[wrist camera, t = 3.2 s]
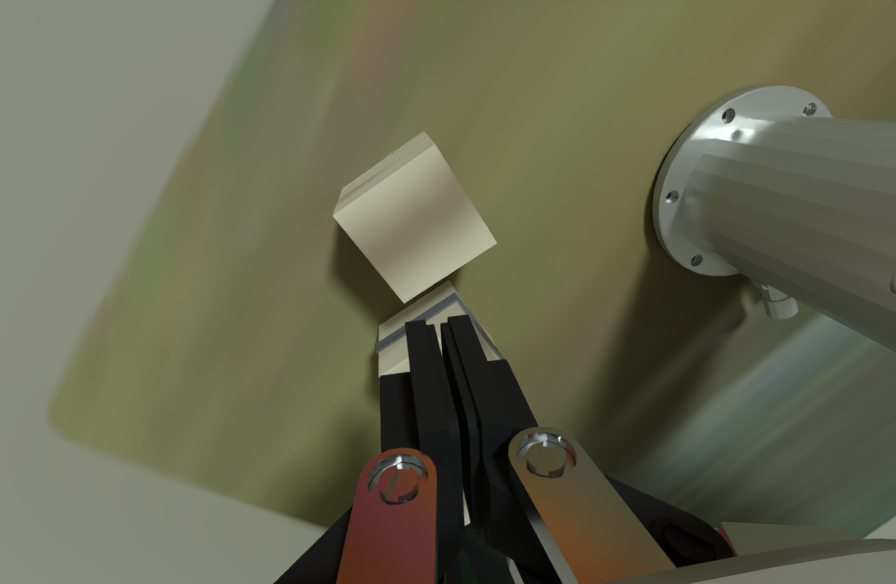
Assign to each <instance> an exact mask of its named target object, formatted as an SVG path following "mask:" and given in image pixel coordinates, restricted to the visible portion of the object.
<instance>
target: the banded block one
mask: <svg viewBox="0 0 896 584" xmlns="http://www.w3.org/2000/svg"><path fill="white" fill-rule="evenodd" d="M466 314H468V315H469V316H470V319H471V321H472V324H473V326H474V329H475V331H476V334H477V336H478V339H479V341H480V343H481V346H482V348H483V351H484V353H485V356H486V358H487V361H492V360H500V359H504V358H503V356H502V355H501V354H500V352H499V351H498V350H497V348H496V346H495V344H494V342H493V340H492V338H491V336H490V335H489V334H488V332H487V331H486V329H485V328H484V327H483V325H482V324H481V323H480V321H479V320H478V319H477V317H476V316H475V314H474V313H473V312H472V310H471V309H470V308H469V306H468V305H467V304H466V302H465V301H464V300H463V298H462V297H461V295H460V294H459V293H458V291H457V290H456V289H455V287H454V286H453V285H452V283H451V282H450V280H448V281H446V282H445V283H443V284H442V285H440V286H439V287H437V288H435V289H434V290H432V291H431V292H429V293H428V294H426V295H425V296H423V297H422V298H420V299H419V300H417V301H416V302H414V303H413V304H411V305H410V306H408V307H407V308H405V309H403V310H402V311H400V312H399V313H397V314H396V315H394V316H393V317H391V318H390V319H388V320H387V321H385V322H384V323H382V324H381V325H379V342H377V343H376V348H375V352H376V353H377V354H378V355H379V377H380V375H388V374H395V373H403V372H410V367H409V358H408V349H407V339H406V330H405V322H408V321H416V320H426V325H429V324H434V325H435V329H436V333H437V337H438V341H439V345H440V350H441V354H442V346H441V332H440V323H445V322H447V318H448V317H450V316H458V315H466Z"/></svg>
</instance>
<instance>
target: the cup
mask: <svg viewBox="0 0 896 584" xmlns="http://www.w3.org/2000/svg"><path fill="white" fill-rule="evenodd" d="M459 539H460V553H459V555H458V556H457V557H456V559H455V560H454V562H453V563H452V564H451V566H450V567H449V569H448V570H447V572H446V573H445V575H446V584H515V581H514V579H513V577H512V574H511V572H510V570H509V566H508V563H507V556H505V555H504V554H502V553H501V552H499V551H498V550H496V549H494V548H493V547H491V544H490V545H484V540H483V536H482V532H481V529H480V530H474V531H473V530H472V528H471V524H470V523H469V524H467V525H465V532H463V533H459Z"/></svg>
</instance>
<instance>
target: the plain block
mask: <svg viewBox="0 0 896 584" xmlns="http://www.w3.org/2000/svg"><path fill="white" fill-rule="evenodd" d="M333 217H334V218H335V219H336V221H337V222H338V223H339V224H340V225H341V227H342V228H343V229H344V230H345V232H346V233H347V234H348V235H349V237H350V238H351V239H352V240H353V241H354V243H355V244H356V245H357V246H358V248H359V249H360V250H361V251H362V252H363V254H364V255H365V256H366V257H367V259H368V260H369V261H370V262H371V264H372V265H373V266H374V267H375V268H376V270H377V271H378V272H379V273H380V275H381V276H382V277H383V278H384V280H385V281H386V282H387V283H388V284H389V286H390V287H391V288H392V289H393V291H394V292H395V293H396V294H397V295H398V297H399V298H400V299H401V300H402V302H403V303H406V302H407V301H409V300H410V299H412V298H413V297H415V296H416V295H418V294H419V293H421V292H423V291H424V290H426V289H427V288H429V287H430V286H432V285H433V284H435V283H436V282H438V281H439V280H441V279H443V278H444V277H446V276H447V275H449V274H450V273H452V272H453V271H455V270H456V269H458V268H459V267H461V266H463V265H464V264H466V263H467V262H469V261H470V260H472V259H473V258H475V257H476V256H478V255H480V254H481V253H483V252H484V251H486V250H487V249H489V248H490V247H492V246H493V245H495V244H496V243H497V242H496V241H495V239H494V237H493V236H492V234H491V233H490V231H489V229H488V228H487V226H486V225H485V223H484V221H483V220H482V218H481V217H480V215H479V213H478V212H477V210H476V209H475V207H474V205H473V204H472V202H471V201H470V199H469V198H468V196H467V194H466V193H465V191H464V190H463V188H462V186H461V185H460V183H459V182H458V180H457V178H456V177H455V175H454V174H453V172H452V170H451V169H450V167H449V166H448V164H447V163H446V161H445V159H444V158H443V156H442V155H441V153H440V151H439V150H438V148H437V147H436V145H435V144H434V142H433V141H432V140H431V139H430V138H429V137H428V135H427V134H426V133H425V132H424V131H423V132H421V133H420V134H419V135H417V136H416V137H414V138H413V139H412V140H410V141H409V142H407V143H406V144H405V145H403V146H402V147H400V148H399V149H397V150H396V151H395V152H393V153H392V154H390V155H389V156H388V157H386V158H385V159H383V160H382V161H381V162H379V163H378V164H376V165H375V166H374V167H372V168H371V169H369V170H368V171H366V172H365V173H364V174H362V175H361V176H359V177H358V178H357V179H355V180H354V181H352V182H351V183H350V184H348V185H347V186H345V187H344V188H343V189H342V191H341V194H340V196H339V199H338V202H337V205H336V208H335V210H334V213H333Z"/></svg>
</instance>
